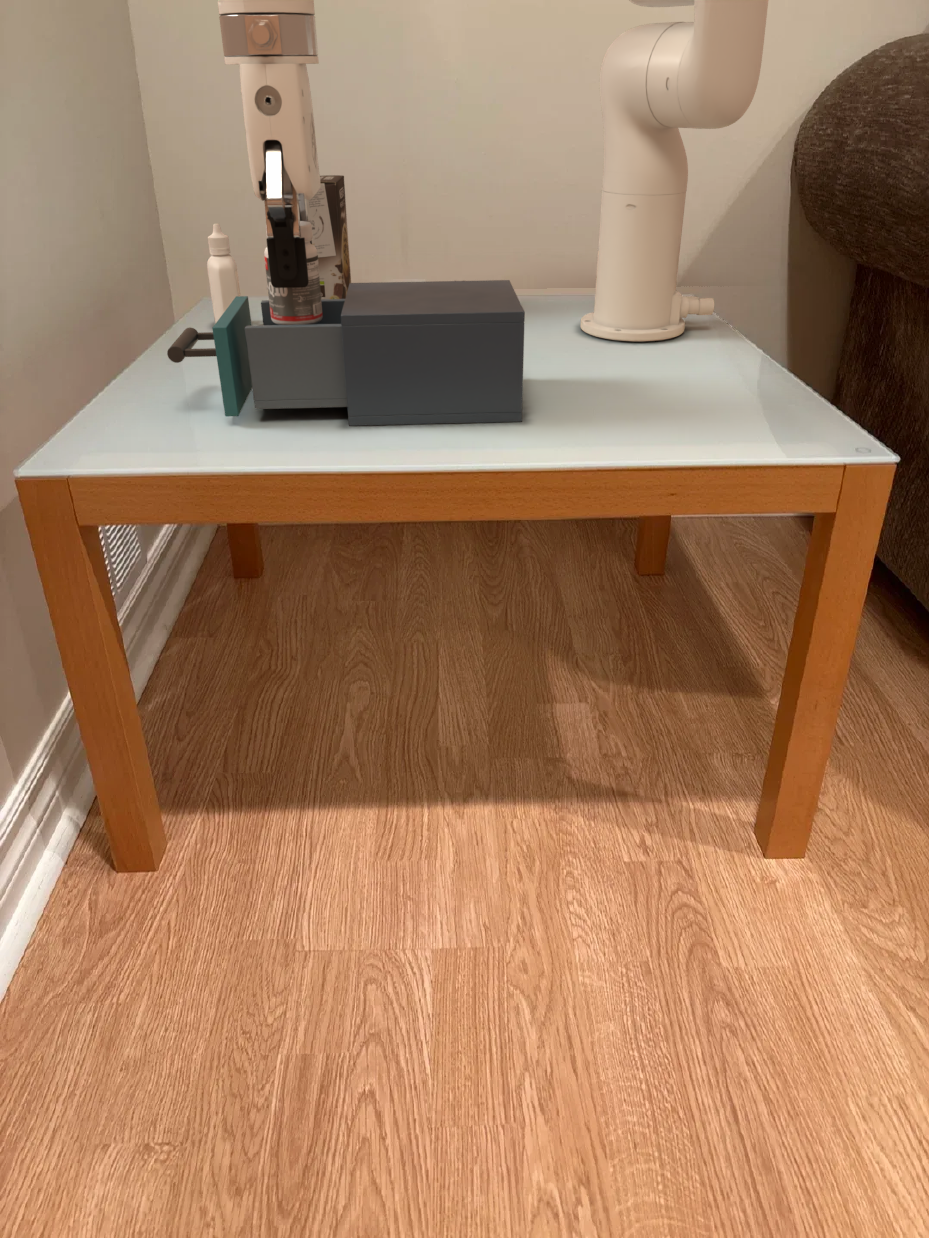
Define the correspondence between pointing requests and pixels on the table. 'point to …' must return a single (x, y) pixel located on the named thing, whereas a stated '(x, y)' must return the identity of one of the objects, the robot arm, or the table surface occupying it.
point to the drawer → (273, 358)
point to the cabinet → (433, 352)
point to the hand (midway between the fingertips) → (293, 278)
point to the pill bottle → (297, 290)
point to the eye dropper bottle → (221, 272)
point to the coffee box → (331, 236)
